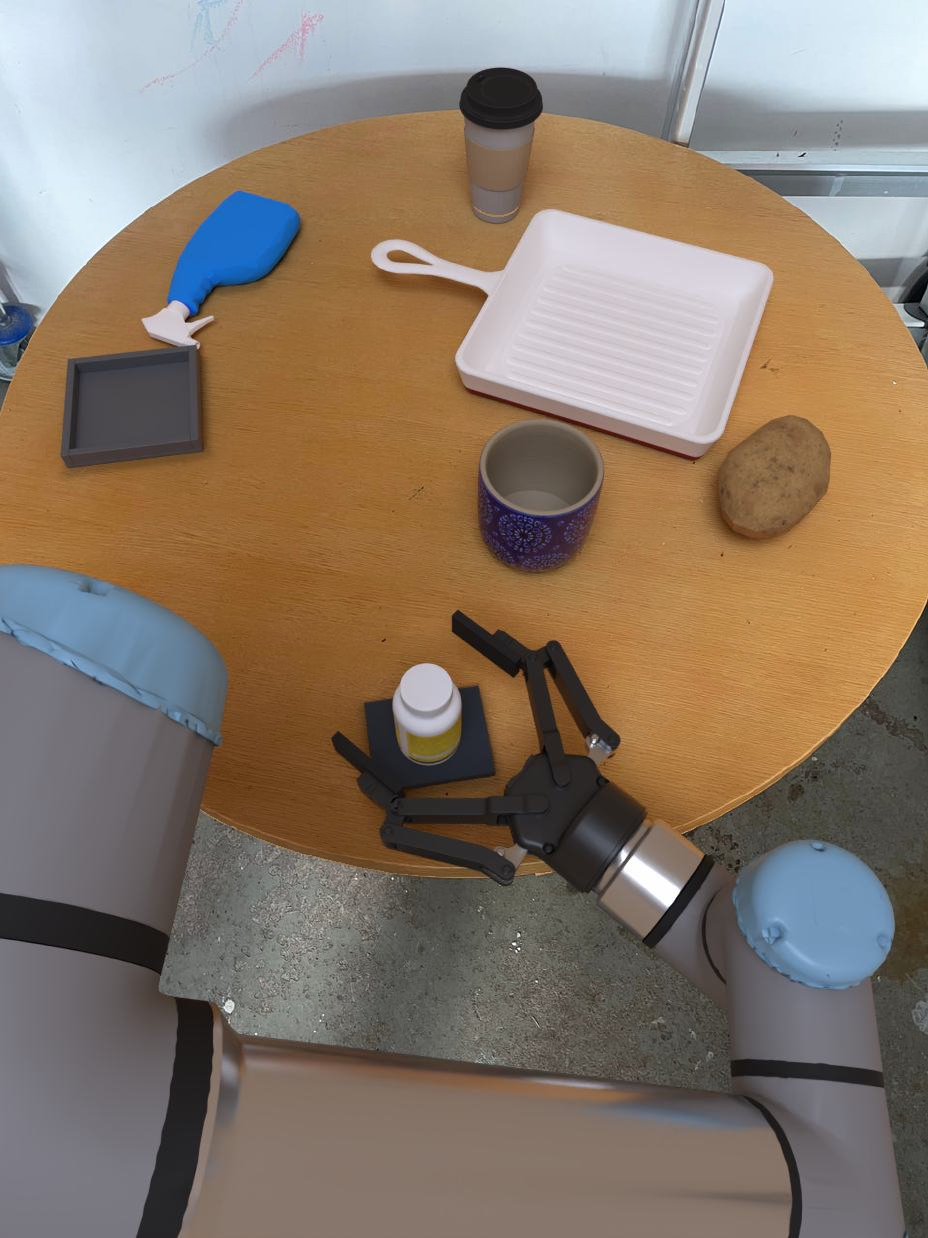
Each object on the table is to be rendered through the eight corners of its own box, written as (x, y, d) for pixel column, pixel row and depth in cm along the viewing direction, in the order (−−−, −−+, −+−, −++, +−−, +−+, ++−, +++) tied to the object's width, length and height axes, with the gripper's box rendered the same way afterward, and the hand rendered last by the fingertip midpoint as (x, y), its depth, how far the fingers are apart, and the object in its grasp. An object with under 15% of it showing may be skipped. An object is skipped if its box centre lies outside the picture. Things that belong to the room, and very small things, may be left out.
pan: (706, 477, 88) (718, 446, 84) (321, 359, 96) (315, 325, 92) (765, 299, 101) (778, 265, 97) (422, 208, 109) (421, 172, 105)
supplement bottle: (474, 739, 73) (477, 690, 64) (425, 780, 71) (421, 735, 63) (433, 694, 75) (430, 641, 66) (383, 733, 73) (374, 683, 65)
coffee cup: (464, 182, 111) (465, 59, 98) (537, 189, 111) (548, 66, 98) (453, 229, 107) (453, 107, 94) (529, 236, 106) (540, 115, 93)
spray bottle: (227, 184, 106) (115, 315, 95) (307, 206, 104) (202, 342, 93) (233, 205, 109) (125, 335, 98) (311, 227, 107) (209, 363, 96)
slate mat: (375, 795, 71) (375, 791, 71) (364, 707, 75) (363, 702, 74) (494, 776, 72) (495, 771, 71) (478, 689, 76) (478, 685, 75)
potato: (680, 531, 85) (700, 479, 78) (745, 442, 90) (769, 386, 84) (770, 581, 82) (800, 532, 75) (832, 486, 88) (864, 432, 81)
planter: (599, 579, 82) (618, 507, 72) (485, 593, 81) (490, 523, 71) (574, 488, 87) (589, 410, 78) (467, 500, 86) (469, 423, 77)
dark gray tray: (67, 468, 88) (60, 456, 86) (74, 371, 95) (67, 358, 93) (203, 451, 89) (198, 439, 88) (200, 357, 96) (195, 344, 94)
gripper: (507, 1009, 59) (290, 812, 66) (703, 747, 69) (496, 598, 75) (513, 997, 53) (272, 780, 59) (729, 710, 62) (501, 550, 69)
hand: (397, 678), depth 67 cm, fingers open, 13 cm apart
